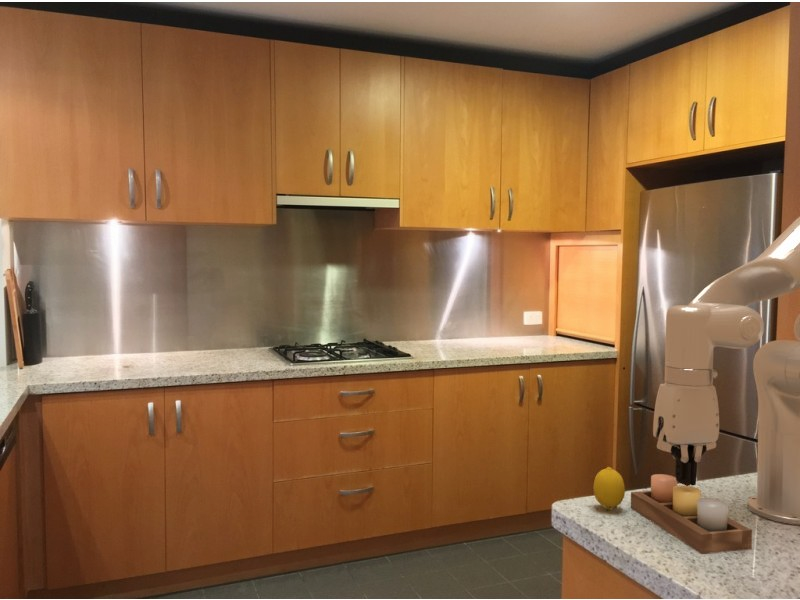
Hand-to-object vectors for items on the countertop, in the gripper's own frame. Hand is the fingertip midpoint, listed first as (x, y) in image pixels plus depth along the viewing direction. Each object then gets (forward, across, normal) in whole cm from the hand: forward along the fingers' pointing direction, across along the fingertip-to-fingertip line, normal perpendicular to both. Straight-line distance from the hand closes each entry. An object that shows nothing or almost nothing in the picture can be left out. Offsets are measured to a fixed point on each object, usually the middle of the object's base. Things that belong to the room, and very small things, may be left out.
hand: (685, 482), depth 110 cm
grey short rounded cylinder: (+6, 0, +6) cm, 9 cm away
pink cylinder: (+6, 0, -6) cm, 9 cm away
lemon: (+8, +9, -10) cm, 15 cm away
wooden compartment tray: (+8, 0, 0) cm, 8 cm away
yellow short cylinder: (+6, 0, 0) cm, 6 cm away
